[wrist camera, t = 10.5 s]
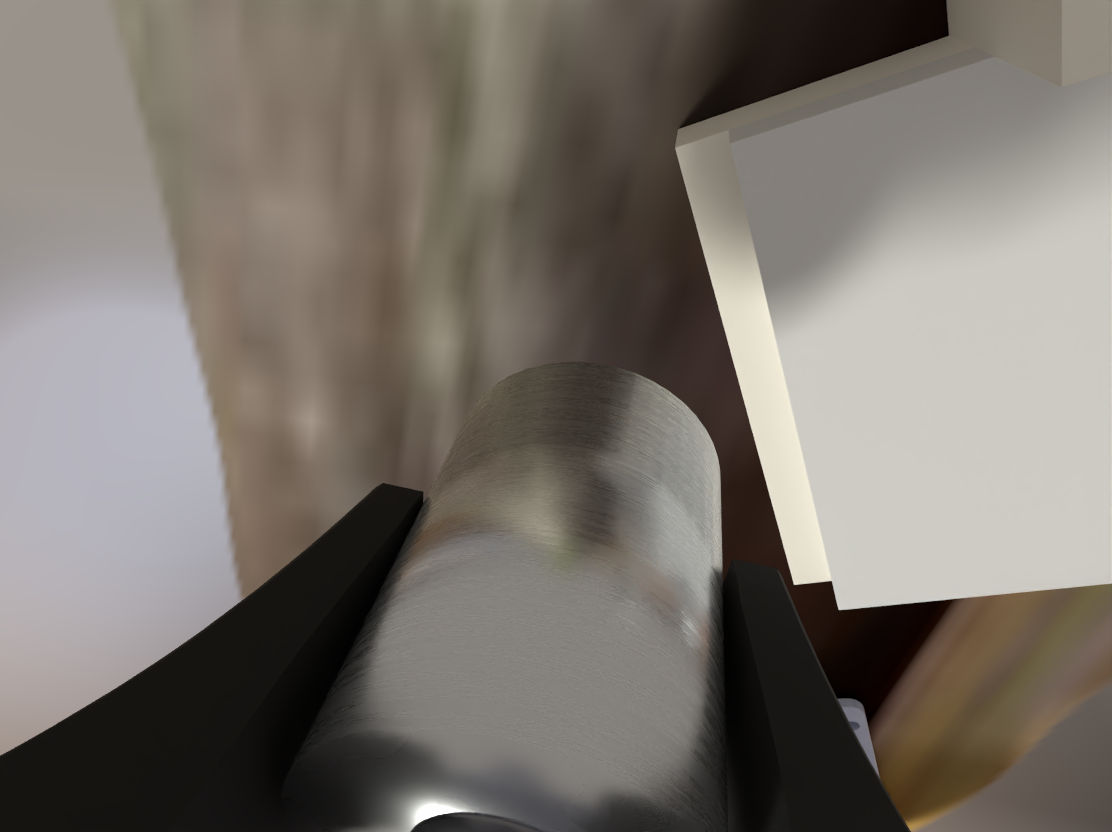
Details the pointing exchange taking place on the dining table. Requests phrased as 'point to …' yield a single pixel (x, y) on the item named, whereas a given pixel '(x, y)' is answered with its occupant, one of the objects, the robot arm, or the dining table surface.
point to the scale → (927, 305)
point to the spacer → (541, 630)
